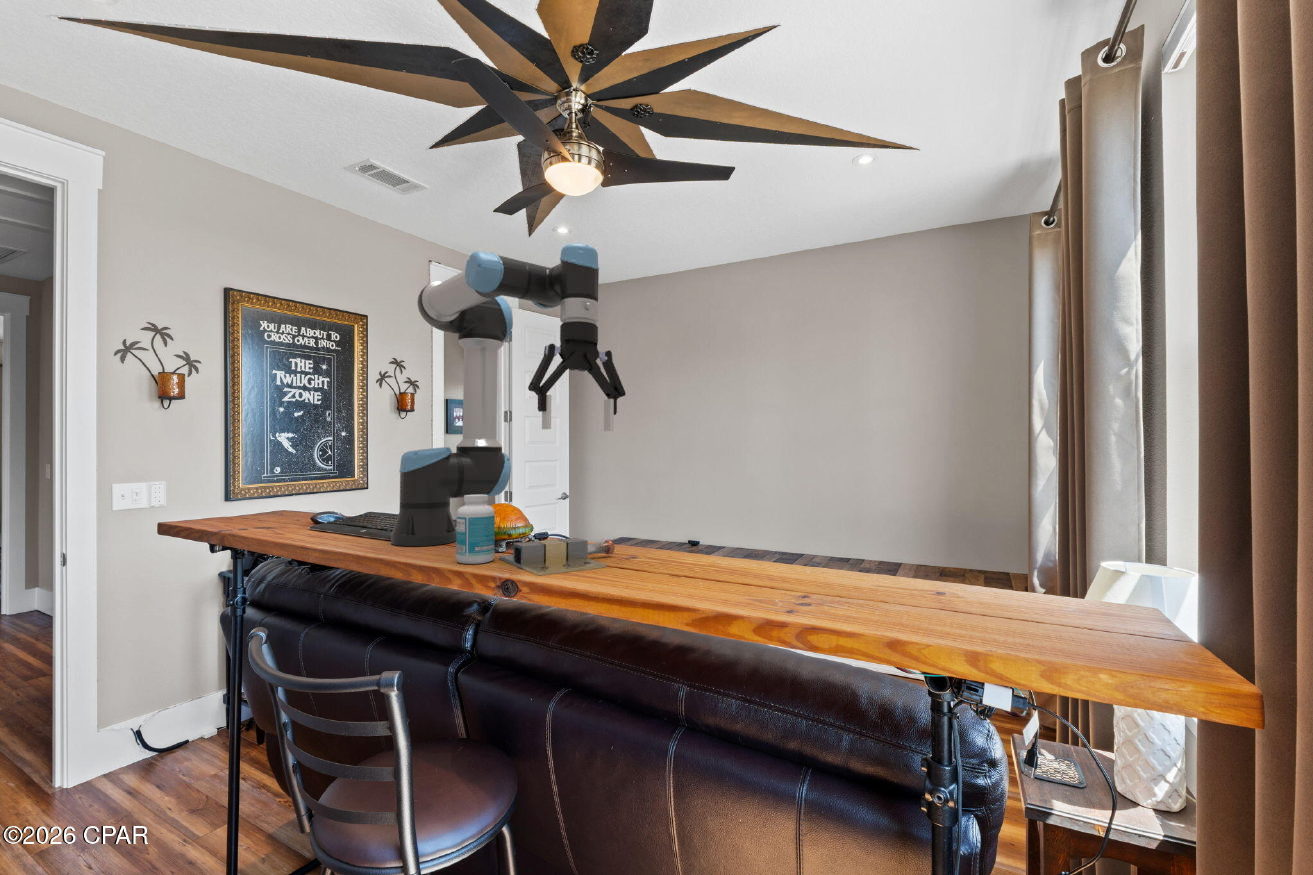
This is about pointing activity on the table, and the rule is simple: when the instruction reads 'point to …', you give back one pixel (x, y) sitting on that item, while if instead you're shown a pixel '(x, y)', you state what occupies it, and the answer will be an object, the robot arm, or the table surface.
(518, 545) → the three blocks on plate
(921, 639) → the table surface
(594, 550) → the hinge pin
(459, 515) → the pill bottle
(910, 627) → the table surface
